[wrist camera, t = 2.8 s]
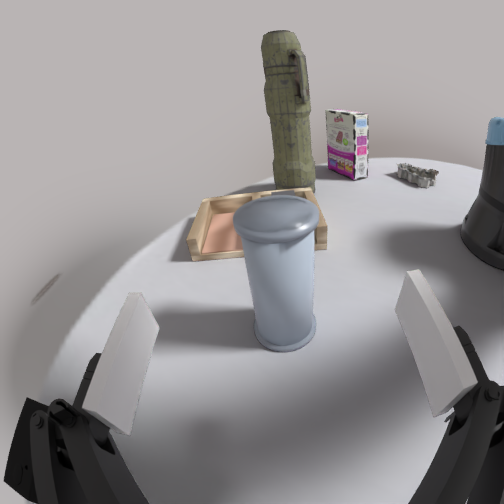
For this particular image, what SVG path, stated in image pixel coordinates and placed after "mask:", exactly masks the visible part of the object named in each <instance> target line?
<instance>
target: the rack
mask: <svg viewBox="0 0 504 504" xmlns="http://www.w3.org/2000/svg"><path fill="white" fill-rule="evenodd" d="M289 190H294V192H295V195H296V196H297V197H301V198H304V199H307V200H309V201H311V202H313V203H314V204H315V205H316V206H317V208H318V209H319V224H318V226H317V227H316V229H315V230H314V250H322V249H327V224H326V222H325V219H324V217H323V214H322V212H321V210H320V207H319V205H318V203H317V200H316V198H315V196H314V194H313V191H312V189H311V187H308V188H295V189H284V190H273V191H263V192H254V193H245V194H237V195H228V196H220V197H213V198H206V199H203V201H202V203H201V206H200V208H199V210H198V212H197V215H196V217H195V220H194V222H193V224H192V227H191V229H190V232H189V234H188V237H187V239H186V241H187V244H188V247H189V251H190V254H191V257H192V260H193V261H203V260H214V259H225V258H236V257H244V251H243V246H242V240H241V236H239V235H238V234H237V233H236V231H235V229H234V225H233V215H234V213H235V212H236V210H237V209H238V208H239V207H241V206H242V205H244V204H245V203H247V202H250V201H252V200H255V199H258V198H262V197H266V196H271V192H278V191H289Z"/></svg>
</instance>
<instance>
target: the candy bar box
mask: <svg viewBox="0 0 504 504" xmlns="http://www.w3.org/2000/svg"><path fill="white" fill-rule="evenodd" d="M326 126H327V145H328V146H327V147H328V169H330V170H333V171H335V172H337V173H339V174H342V175H344V176H346V177H348V178H350V179H353V180H358V179H363V178H367V177H368V114H366V113H360V112H355V111H347V110H339V109H333V110H326Z"/></svg>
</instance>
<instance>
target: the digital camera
mask: <svg viewBox="0 0 504 504" xmlns="http://www.w3.org/2000/svg"><path fill="white" fill-rule="evenodd" d="M48 408H49V406H46V405H44V404H41V403H39V402H37V401H34V400H32V399H29V398H26V401H25V404H24V406H23V409H22V412H21V415H20V417H19V420H18V424H17V427H16V430H15V433H14V437H13V441H12V444H11V448H10V452H9V456H8V461H7V466H6V470H5V476H4V482H6V483H7V484H8V485H9V486H10V487H12V488H13V489H14V490H15V491H17V492H18V493H19V494H20V495H22V496H23V497H24V498H25V499H27V500H28V501H31V502H34V503H36V504H38V500H37V494H36V489H35V483H34V476H33V467H32V457H31V443H30V419H31V416H32V414H33V413H34V412H35V411H37V410H42V411H44V412H45V413H47V411H48ZM56 450H57V451H58V446H56Z"/></svg>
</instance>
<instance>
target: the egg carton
mask: <svg viewBox="0 0 504 504" xmlns="http://www.w3.org/2000/svg"><path fill="white" fill-rule="evenodd" d="M397 166H398V174H397V175H398V177H399V178H405V179H408V182H410V183H416V184H418V186H419V187H421V188H422V187H423V188H429V185H431V186H435V183H436V176H437V174H439V172H438V171H436V170H433V169H430V170H427V169H421V168H419V167H412V165H410V164H408V165H406V163H405V164H401V163H400V164H397ZM435 175H436V176H435Z"/></svg>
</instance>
